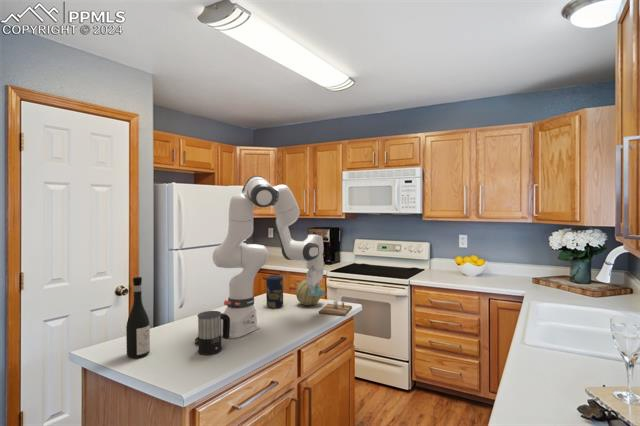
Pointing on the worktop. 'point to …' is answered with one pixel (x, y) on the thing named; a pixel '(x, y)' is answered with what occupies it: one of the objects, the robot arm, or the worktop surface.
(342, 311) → the board
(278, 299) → the canister
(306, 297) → the cantaloupe
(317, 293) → the teal frame with handle
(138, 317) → the wine bottle
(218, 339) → the milk frother
